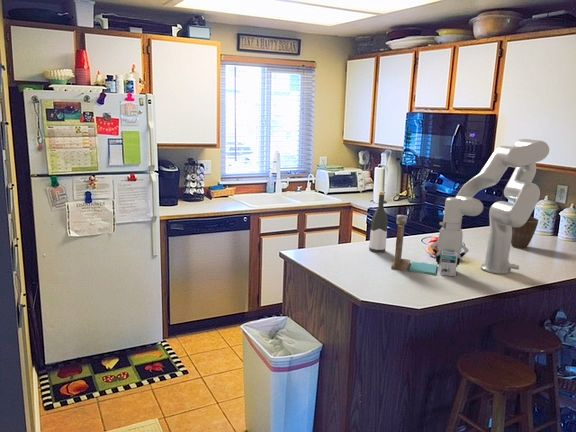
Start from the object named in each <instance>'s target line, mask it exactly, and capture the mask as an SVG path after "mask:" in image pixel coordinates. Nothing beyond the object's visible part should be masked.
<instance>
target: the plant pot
mask: <svg viewBox="0 0 576 432" xmlns="http://www.w3.org/2000/svg"><path fill="white" fill-rule="evenodd" d="M539 222H540V221H539V219H538V218H537V217H533V216H530V217H529V218H528V220H527V222H526V223H525V224H524V225H523V226H521V227H512V226H511V227H512V238H511V245H510V246H511V247H512V246H513V248H515V249H519V248H522V249H521V250H523V249H524V248H525V249H527V247H529V245H530V243H531V241H532V239H533V237H534V235H535V232H536V230H537V228H538V224H539Z"/></svg>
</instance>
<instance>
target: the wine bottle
mask: <svg viewBox="0 0 576 432" xmlns="http://www.w3.org/2000/svg"><path fill="white" fill-rule="evenodd" d="M384 202H385V191H382V190H381V191H379V194H378V205H377V206H378V207H377V208H376V209H375V211H374V213H373V215H372V217H371V221H370V232H369V233H370V234H369V236H370V237H369V245H368V250H369V251H370V252H372V253H379V254H380V253H384V252H386V247H387V237H388V234H387V233H388V223H389V220H388V215H387V212H386V210H385V208H384Z"/></svg>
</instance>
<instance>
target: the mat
mask: <svg viewBox="0 0 576 432" xmlns="http://www.w3.org/2000/svg"><path fill="white" fill-rule="evenodd" d="M437 269H438V265H437V264H434V263H427V262H426V263H425V262H419V261H412V262H411V263H410V268H409V272H412V273H421V274H428V275H432V276H433V275H436V273H437Z"/></svg>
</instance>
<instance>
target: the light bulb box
mask: <svg viewBox="0 0 576 432" xmlns="http://www.w3.org/2000/svg"><path fill="white" fill-rule="evenodd" d="M457 258H458V252H456V251H450V250H442V251H441V253H440V259H439V264H438V265H437V269H438V272H439V275H441V276H451V277H456V276H457V275H456V273H457V268H458V266H457Z"/></svg>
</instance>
